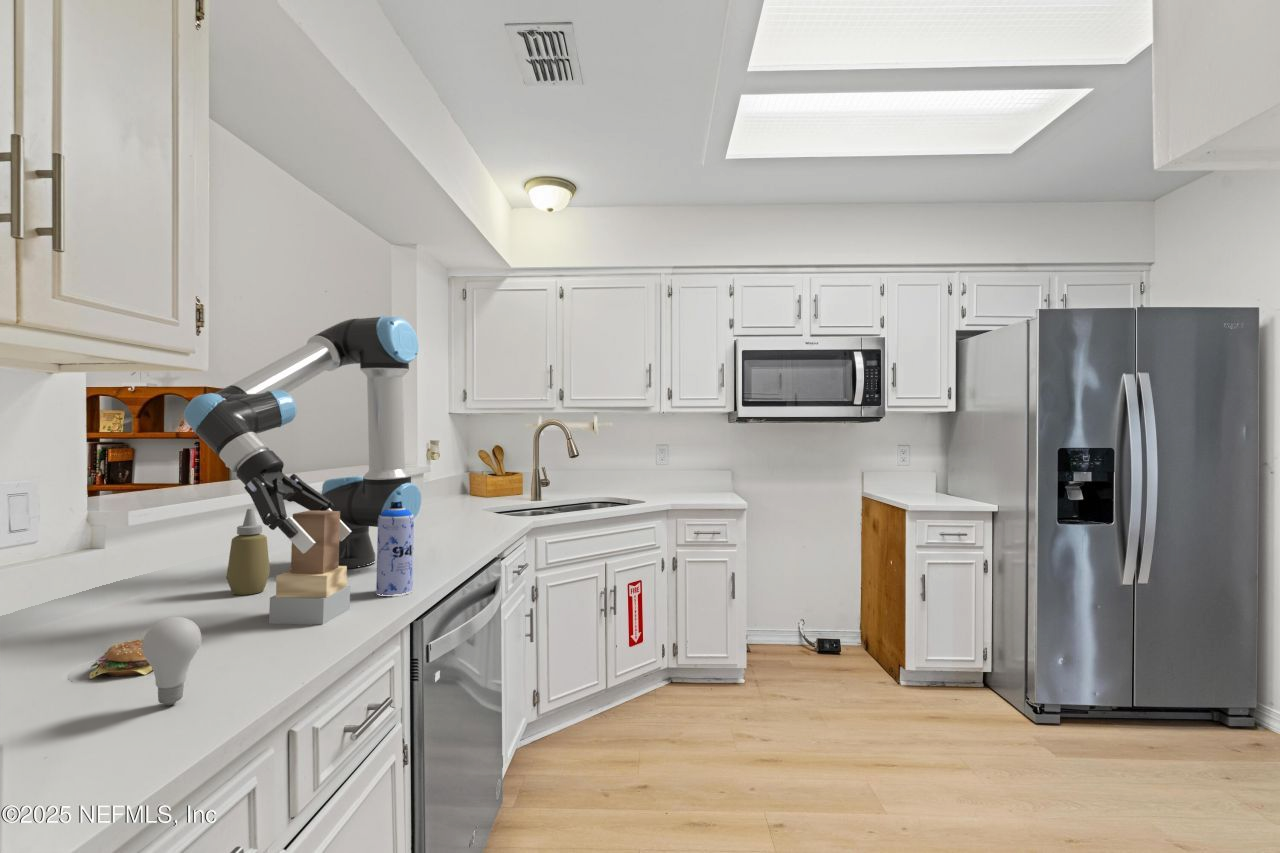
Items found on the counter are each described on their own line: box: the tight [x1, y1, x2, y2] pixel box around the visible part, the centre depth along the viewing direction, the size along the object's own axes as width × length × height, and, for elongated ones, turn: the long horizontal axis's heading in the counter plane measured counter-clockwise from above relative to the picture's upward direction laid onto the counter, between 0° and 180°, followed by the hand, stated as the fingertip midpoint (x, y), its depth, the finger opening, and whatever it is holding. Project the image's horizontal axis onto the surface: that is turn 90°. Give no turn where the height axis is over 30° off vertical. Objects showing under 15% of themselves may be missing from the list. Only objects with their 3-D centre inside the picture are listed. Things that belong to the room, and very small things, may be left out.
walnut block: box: [290, 510, 340, 574], centre depth 122 cm, size 6×6×11 cm
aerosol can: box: [375, 501, 415, 595], centre depth 140 cm, size 8×8×20 cm
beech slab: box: [275, 566, 348, 598], centre depth 121 cm, size 9×9×4 cm
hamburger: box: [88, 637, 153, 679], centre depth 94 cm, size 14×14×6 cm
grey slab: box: [268, 585, 351, 625], centre depth 121 cm, size 10×10×5 cm
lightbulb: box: [142, 616, 202, 707], centre depth 81 cm, size 6×6×11 cm
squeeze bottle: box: [226, 508, 271, 596], centre depth 138 cm, size 8×8×18 cm
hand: (328, 542), depth 122 cm, fingers open, 13 cm apart
